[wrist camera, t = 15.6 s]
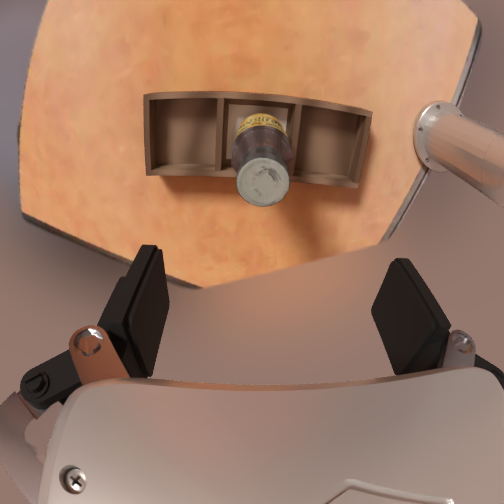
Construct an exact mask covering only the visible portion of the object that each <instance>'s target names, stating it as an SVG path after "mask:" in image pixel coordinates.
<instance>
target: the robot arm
mask: <svg viewBox="0 0 504 504" xmlns="http://www.w3.org/2000/svg"><path fill="white" fill-rule="evenodd" d="M413 138H414V146H415V150H416V153H417V155H418V157H419V159H420V160H421V162H422V163H423V164H424V165H425V166H427V167H428V168H430V169H431V170H433V171H436V172H448V171H450V172H452V173H454V174H455V175H457V176H458V177H460V178H461V179H463V180H464V181H465V182H467V183H468V184H470V185H471V186H473V187H474V188H475V189H477V190H478V191H480V192H481V193H483V194H484V195H485V196H487V197H488V198H489V199H491V200H492V201H493V202H495V203H496V204H498V205H499V206H502V207H504V132H502V131H499V130H497V129H495V128H492V127H490V126H487V125H485V124H482V123H480V122H477V121H474V120H471V119H469V118H466V117H464V115H463V114H462V112H461V111H460V110H459V109H458V108H457V107H456V106H454V105H452V104H450V103H447V102H443V101H437V102H433V103H430V104H429V105H427V106H426V107H425V108H424V109H423V110H422V111H421V112H420V114H419V116H418V118H417V120H416V122H415V127H414V134H413ZM168 310H169V296H168V289H167V282H166V275H165V268H164V260H163V253H162V250H161V249H158V247H157V246H156V245H142V246H141V248H140V250H139V251H138V253H137V255H136V257H135V259H134V261H133V263H132V265H131V267H130V269H129V271H128V273H127V275H126V277H121V278H120V279H119V281H118V283H117V285H116V287H115V289H114V290H113V293H112V294H111V297H110V299H109V301H108V303H107V305H106V307H105V309H104V311H103V313H102V316H101V318H100V320H99V322H98V325H97V326H95V325H88V326H84V327H82V328H80V329H78V330H77V331H75V332H74V333H73V335H72V336H71V338H70V341H69V350H67V351H65V352H63V353H61V354H59V355H57V356H56V357H54V358H52V359H50V360H48V361H46V362H44V363H42V364H40V365H38V366H36V367H35V368H32V369H31V370H29V371H28V372H27V373H26V374H25V375H24V376H23V378H22V380H21V384H20V391H19V392H18V393H16V392H15V391H14V392H13V393H12V394H11V395H10V396H9V397H8V398H7V399H6V400H5V401H4V402H3V403H2V404H1V405H0V463H1V464H2V466H3V467H4V469H5V470H6V472H7V473H8V474H9V476H10V477H11V479H12V480H13V481H14V483H15V484H16V485H17V487H18V488H19V489H20V491H21V492H22V493H23V495H24V496H25V497H26V498H27V500H28V501H29V502H30V503H31V504H504V373H503V372H502V371H501V370H500V369H499V368H497V367H496V366H494V365H493V364H491V363H489V362H488V361H486V360H485V359H483V358H481V357H480V356H478V355H477V354H475V352H476V346H475V343H474V341H473V339H472V338H471V337H470V336H469V335H468V334H467V333H466V332H464V331H461V330H454V331H452V332H451V333H450V332H449V331H448V330H449V329H450V327H451V324H450V322H449V320H448V319H447V317H446V315H445V314H444V312H443V311H442V309H441V307H440V305H439V304H438V302H437V301H436V299H435V297H434V296H433V294H432V293H431V291H430V289H429V288H428V286H427V285H426V283H425V282H424V281H423V279H422V277H421V276H420V274H419V273H418V271H417V270H416V269H415V267H414V266H413V264H412V263H411V261H410V260H409V259H407V258H396V259H395V260H394V261H392V262H391V264H390V266H389V268H388V271H387V273H386V276H385V278H384V280H383V283H382V285H381V288H380V290H379V292H378V294H377V297H376V299H375V301H374V303H373V306H372V309H371V313H372V316H373V319H374V321H375V323H376V326H377V329H378V331H379V334H380V336H381V338H382V341H383V344H384V346H385V349H386V352H387V354H388V357H389V360H390V363H391V365H392V368H393V371H394V373H395V375H396V376H390V377H382V378H374V379H366V380H357V381H346V382H336V383H320V384H298V385H236V384H215V383H198V382H183V381H173V380H163V379H148V378H147V377H151V376H152V374H153V370H154V366H155V361H156V357H157V353H158V349H159V344H160V341H161V337H162V333H163V329H164V325H165V321H166V318H167V314H168ZM49 439H50V442H49V446H48V450H47V453H46V445H47V442H48V441H49Z"/></svg>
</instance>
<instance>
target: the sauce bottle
mask: <svg viewBox="0 0 504 504" xmlns="http://www.w3.org/2000/svg"><path fill="white" fill-rule="evenodd" d="M292 158H293V151H292V148H291V143H290V140H289V138H288V136H287V134H286V132H285V130H284V128H283V126H282V124H281V123H280V121H279V120H278V119H277V118H275V117H273V116H271V115H269V114H264V113H258V114H254V115H251V116H249V117H247V118H246V119H245V120H244V121H243V122H242V123H241V125H240V127H239V129H238V132H237V135H236V137H235V139H234V142H233V145H232V158H231V165H232V167H233V168H234V170H235V172H236V173H237V178H236V186H237V189H238V192H239V194H240V195H241V197H242V198H243V199H244V200H246V201H247V202H248V203H250V204H252V205H255V206H260V207H266V206H270V205H274V204H276V203H278V202H280V201H281V200H282V199H283V198H284V197H285V195H286V194H287V192H288V190H289V186H290V176H289V170H290V167H291V164H292Z"/></svg>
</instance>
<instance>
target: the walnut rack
mask: <svg viewBox="0 0 504 504" xmlns="http://www.w3.org/2000/svg"><path fill="white" fill-rule="evenodd" d="M258 113H264V114H269V115H271V116H273V117H275V118H277V119H278V120H279V121H280V123H281V124H282V126H283V128H284V130H285V132H286V134H287V136H288V138H289V140H290V143H291V148H292V151H293V158H292V164H291V167H290V170H289V176H290V181H293V182H303V183H313V184H323V185H332V186H340V187H348V188H355V189H358V185H359V181H360V176H361V172H362V167H363V162H364V157H365V152H366V147H367V142H368V136H369V131H370V125H371V119H372V113H373V112H371V111H368V110H365V109H362V108H357V107H352V106H348V105H343V104H337V103H332V102H326V101H320V100H314V99H307V98H300V97H292V96H284V95H274V94H263V93H249V92H229V91H180V92H159V93H150V94H144V146H145V165H146V176H152V175H168V176H214V177H237V173H236V172H235V170H234V168H233V167H232V165H231V158H232V145H233V142H234V139H235V137H236V135H237V132H238V129H239V127H240V125H241V123H242V122H243V121H244V120H245V119H246V118H247V117H249V116H251V115H254V114H258Z"/></svg>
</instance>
